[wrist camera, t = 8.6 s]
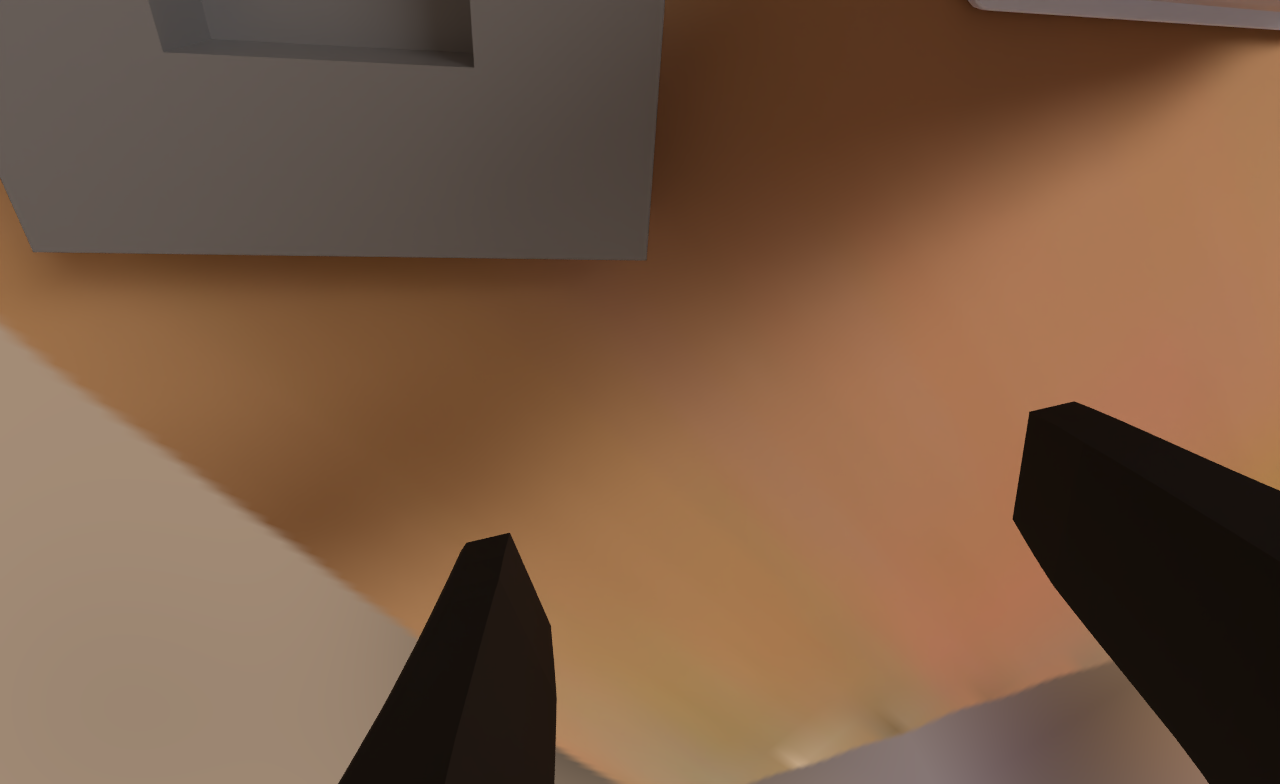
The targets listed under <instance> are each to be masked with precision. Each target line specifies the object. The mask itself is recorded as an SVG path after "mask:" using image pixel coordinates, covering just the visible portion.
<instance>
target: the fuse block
mask: <svg viewBox="0 0 1280 784" xmlns="http://www.w3.org/2000/svg"><path fill="white" fill-rule="evenodd" d="M664 8H665V0H0V179H1V181H2V183H3V185H4V188H5V190H6V192H7V194H8V197H9V199H10V201H11V203H12V205H13V208H14V210H15V212H16V214H17V217H18V219H19V221H20V223H21V226H22V228H23V230H24V232H25V235H26V237H27V239H28V241H29V244H30V246H31V248H32V250H33V252H67V253H140V254H213V255H285V256H358V257H431V258H503V259H576V260H647V247H648V233H649V219H650V205H651V191H652V177H653V163H654V149H655V135H656V121H657V106H658V92H659V78H660V64H661V50H662V36H663V22H664Z"/></svg>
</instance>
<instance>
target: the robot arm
mask: <svg viewBox="0 0 1280 784" xmlns="http://www.w3.org/2000/svg"><path fill="white" fill-rule="evenodd" d="M968 1H969V3H970V4H971V5H972V6H973V7H975V8H978V9H981V10H989V11H1004V12H1019V13H1033V14H1048V15H1063V16H1078V17H1093V18H1108V19H1122V20H1137V21H1152V22H1167V23H1182V24H1197V25H1211V26H1226V27H1241V28H1256V29H1271V30H1280V0H968ZM1013 521H1014V522H1015V524H1016V526H1017V527H1018V529H1019V531H1020V532H1021V534H1022V536H1023V538H1024V539H1025V541H1026V543H1027V544H1028V546H1029V548H1030V549H1031V551H1032V553H1033V555H1034V556H1035V558H1036V559H1037V561H1038V562H1039V564H1040V566H1041V567H1042V569H1043V570H1044V572H1045V573H1046V575H1047V577H1048V578H1049V580H1050V581H1051V583H1052V584H1053V586H1054V587H1055V588H1056V590H1057V591H1058V592H1059V593H1060V595H1061V596H1062V597H1063V599H1064V600H1065V601H1066V602H1067V604H1068V605H1069V606H1070V607H1071V609H1072V610H1073V611H1074V613H1075V614H1076V615H1077V616H1078V618H1079V619H1080V620H1081V621H1082V623H1083V624H1084V625H1085V626H1086V628H1087V629H1088V630H1089V631H1090V633H1091V634H1092V635H1093V636H1094V638H1095V639H1096V640H1097V641H1098V643H1099V644H1100V645H1101V646H1102V648H1103V649H1104V650H1105V651H1106V653H1107V654H1108V655H1109V656H1110V657H1111V659H1112V660H1113V661H1114V662H1115V664H1116V665H1117V666H1118V667H1119V669H1120V670H1121V671H1122V672H1123V674H1124V675H1125V676H1126V677H1127V679H1128V680H1129V681H1130V682H1131V683H1132V685H1133V686H1134V687H1135V688H1136V690H1137V691H1138V692H1139V693H1140V695H1141V696H1142V697H1143V698H1144V700H1145V701H1146V702H1147V703H1148V705H1149V706H1150V707H1151V708H1152V710H1153V711H1154V712H1155V713H1156V714H1157V716H1158V717H1159V718H1160V719H1161V721H1162V722H1163V723H1164V724H1165V726H1166V727H1167V728H1168V729H1169V731H1170V732H1171V733H1172V734H1173V736H1174V737H1175V738H1176V739H1177V741H1178V742H1179V743H1180V745H1181V746H1182V747H1183V749H1184V750H1185V751H1186V753H1187V754H1188V755H1189V757H1190V758H1191V759H1192V761H1193V762H1194V763H1195V765H1196V766H1197V767H1198V769H1199V770H1200V771H1201V773H1202V774H1203V776H1204V777H1205V779H1206V780H1207V782H1208V783H1209V784H1280V491H1279V490H1277V489H1274V488H1272V487H1270V486H1267V485H1265V484H1263V483H1260V482H1258V481H1256V480H1253V479H1251V478H1249V477H1247V476H1244V475H1242V474H1240V473H1237V472H1235V471H1233V470H1230V469H1228V468H1226V467H1224V466H1221V465H1219V464H1217V463H1215V462H1212V461H1210V460H1208V459H1206V458H1203V457H1201V456H1199V455H1197V454H1194V453H1192V452H1190V451H1188V450H1185V449H1183V448H1181V447H1179V446H1177V445H1174V444H1172V443H1170V442H1168V441H1165V440H1163V439H1161V438H1159V437H1156V436H1154V435H1152V434H1150V433H1147V432H1145V431H1143V430H1141V429H1138V428H1136V427H1134V426H1132V425H1129V424H1127V423H1125V422H1123V421H1120V420H1118V419H1116V418H1113V417H1111V416H1109V415H1106V414H1104V413H1102V412H1099V411H1097V410H1095V409H1092V408H1090V407H1087V406H1085V405H1082V404H1079V403H1077V402H1070V403H1065V404H1061V405H1057V406H1053V407H1048V408H1044V409H1040V410H1035V411H1031V412H1029V419H1028V425H1027V431H1026V438H1025V444H1024V450H1023V457H1022V463H1021V469H1020V476H1019V482H1018V488H1017V495H1016V501H1015V507H1014V514H1013ZM556 702H557V697H556V683H555V669H554V657H553V646H552V634H551V625H550V623H549V621H548V618H547V616H546V614H545V612H544V609H543V607H542V605H541V602H540V600H539V598H538V596H537V593H536V591H535V589H534V587H533V584H532V582H531V580H530V577H529V575H528V573H527V571H526V568H525V566H524V564H523V562H522V559H521V557H520V555H519V552H518V550H517V548H516V546H515V543H514V541H513V539H512V537H511V534H510V533H507V534H502V535H498V536H494V537H489V538H485V539H481V540H477V541H472V542H468V543H466V544H465V546H464V547H463V549H462V550H461V552H460V554H459V556H458V559H457V561H456V563H455V565H454V567H453V569H452V571H451V573H450V576H449V578H448V580H447V582H446V584H445V586H444V588H443V590H442V592H441V594H440V597H439V599H438V601H437V603H436V605H435V607H434V609H433V611H432V613H431V615H430V617H429V619H428V621H427V623H426V625H425V627H424V629H423V631H422V633H421V635H420V637H419V639H418V641H417V643H416V645H415V647H414V649H413V651H412V653H411V655H410V657H409V659H408V660H407V662H406V665H405V666H404V668H403V670H402V672H401V674H400V676H399V678H398V680H397V681H396V683H395V685H394V687H393V689H392V691H391V693H390V695H389V697H388V699H387V700H386V702H385V704H384V706H383V708H382V710H381V711H380V713H379V715H378V716H377V718H376V720H375V721H374V723H373V725H372V727H371V729H370V730H369V732H368V734H367V735H366V737H365V739H364V740H363V742H362V744H361V746H360V748H359V749H358V751H357V753H356V754H355V756H354V758H353V759H352V761H351V763H350V765H349V767H348V768H347V770H346V772H345V774H344V775H343V777H342V778H341V780H340V782H339V783H338V784H554V775H555V742H556Z"/></svg>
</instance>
